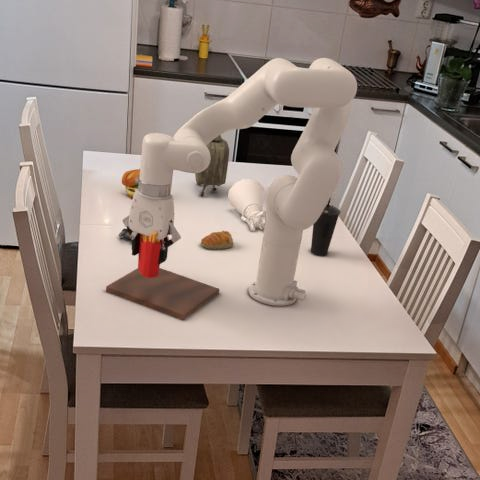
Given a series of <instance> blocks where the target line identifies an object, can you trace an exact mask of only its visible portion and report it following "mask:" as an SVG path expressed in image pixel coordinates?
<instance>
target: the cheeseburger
mask: <svg viewBox="0 0 480 480" xmlns="http://www.w3.org/2000/svg"><path fill="white" fill-rule="evenodd" d="M137 177H138V178H140V168H138V169H130V170H127V171H125V172H124V173H123V174H122V177H121V184H122V185H123V186H125V189H126V193H127V196H128V197H129V198H131V199H133V196H134V193H135V190H136V189H139V188H138V185H139V184H138V183H135V179H136V178H137Z"/></svg>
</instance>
